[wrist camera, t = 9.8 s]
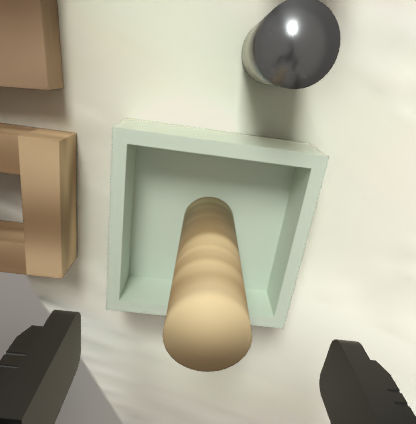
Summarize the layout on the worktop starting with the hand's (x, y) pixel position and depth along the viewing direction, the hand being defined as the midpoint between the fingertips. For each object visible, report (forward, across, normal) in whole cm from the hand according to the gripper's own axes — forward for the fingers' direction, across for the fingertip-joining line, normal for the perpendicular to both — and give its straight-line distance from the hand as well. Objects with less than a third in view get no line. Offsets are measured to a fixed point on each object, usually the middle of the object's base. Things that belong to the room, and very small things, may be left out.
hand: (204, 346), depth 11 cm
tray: (+11, 0, 0) cm, 11 cm away
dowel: (+11, 0, 0) cm, 11 cm away
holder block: (+11, +12, 0) cm, 16 cm away
